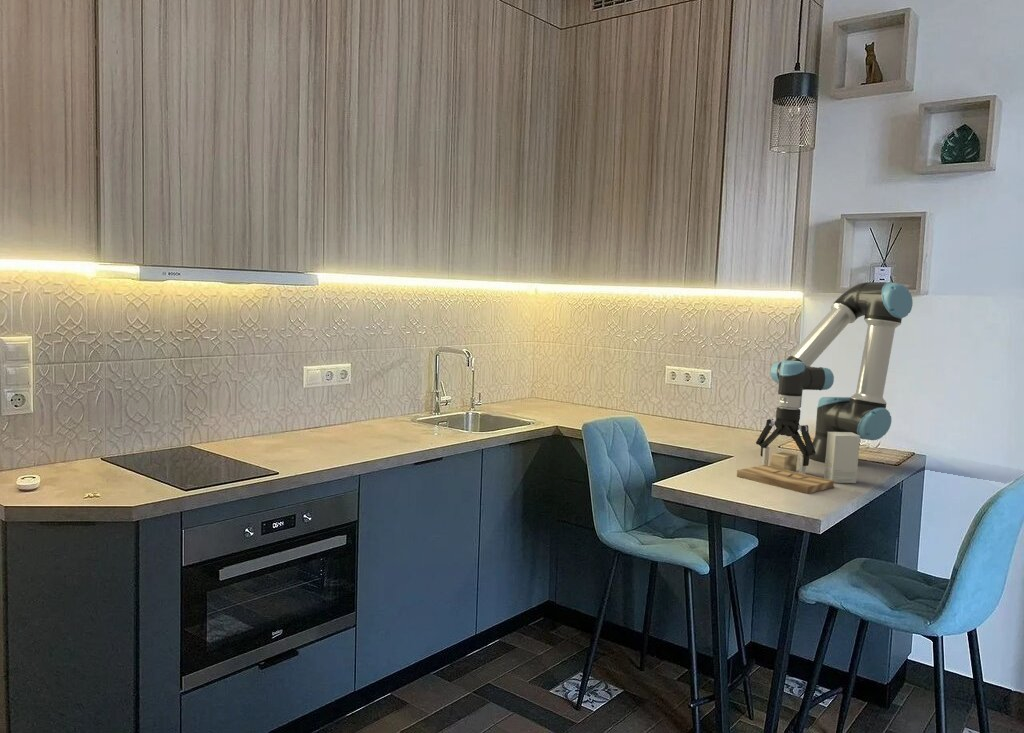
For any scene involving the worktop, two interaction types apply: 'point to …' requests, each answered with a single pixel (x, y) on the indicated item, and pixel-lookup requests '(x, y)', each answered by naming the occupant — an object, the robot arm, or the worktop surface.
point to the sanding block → (784, 461)
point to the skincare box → (842, 457)
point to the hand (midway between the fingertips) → (782, 471)
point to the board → (785, 479)
